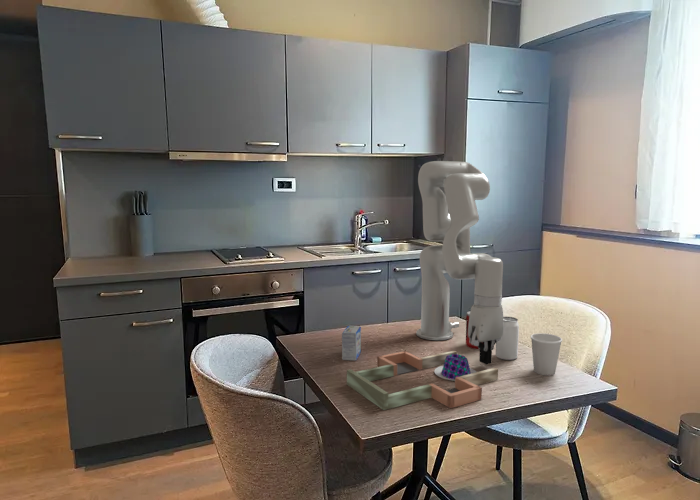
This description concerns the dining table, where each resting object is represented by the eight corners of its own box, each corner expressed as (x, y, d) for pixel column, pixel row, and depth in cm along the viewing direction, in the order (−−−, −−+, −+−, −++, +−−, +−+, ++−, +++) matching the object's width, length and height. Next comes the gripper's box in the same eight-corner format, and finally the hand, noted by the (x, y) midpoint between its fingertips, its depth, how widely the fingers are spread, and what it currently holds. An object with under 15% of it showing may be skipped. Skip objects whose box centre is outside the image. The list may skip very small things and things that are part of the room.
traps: (405, 360, 150) (405, 350, 150) (481, 399, 123) (481, 387, 123) (377, 366, 145) (377, 356, 145) (450, 408, 118) (450, 396, 118)
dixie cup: (522, 368, 144) (524, 334, 143) (545, 364, 147) (547, 331, 146) (542, 378, 136) (544, 343, 135) (567, 375, 139) (569, 340, 138)
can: (490, 354, 156) (492, 317, 154) (507, 352, 158) (509, 315, 156) (504, 361, 150) (506, 322, 148) (521, 359, 152) (523, 320, 150)
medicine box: (356, 361, 150) (356, 333, 148) (341, 360, 150) (341, 332, 149) (361, 352, 157) (361, 325, 156) (347, 351, 158) (347, 325, 157)
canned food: (494, 349, 161) (495, 316, 159) (469, 350, 160) (470, 316, 159) (486, 342, 168) (487, 310, 167) (462, 342, 168) (463, 310, 166)
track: (454, 360, 151) (454, 347, 150) (497, 379, 136) (498, 365, 135) (346, 384, 132) (346, 370, 132) (383, 410, 117) (384, 393, 117)
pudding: (487, 378, 137) (488, 360, 136) (452, 386, 132) (453, 367, 131) (458, 364, 148) (459, 347, 147) (425, 371, 142) (426, 354, 142)
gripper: (496, 295, 150) (493, 354, 152) (458, 301, 142) (456, 363, 144) (516, 300, 143) (513, 362, 146) (478, 306, 136) (475, 371, 138)
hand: (485, 362), depth 145 cm, fingers closed
